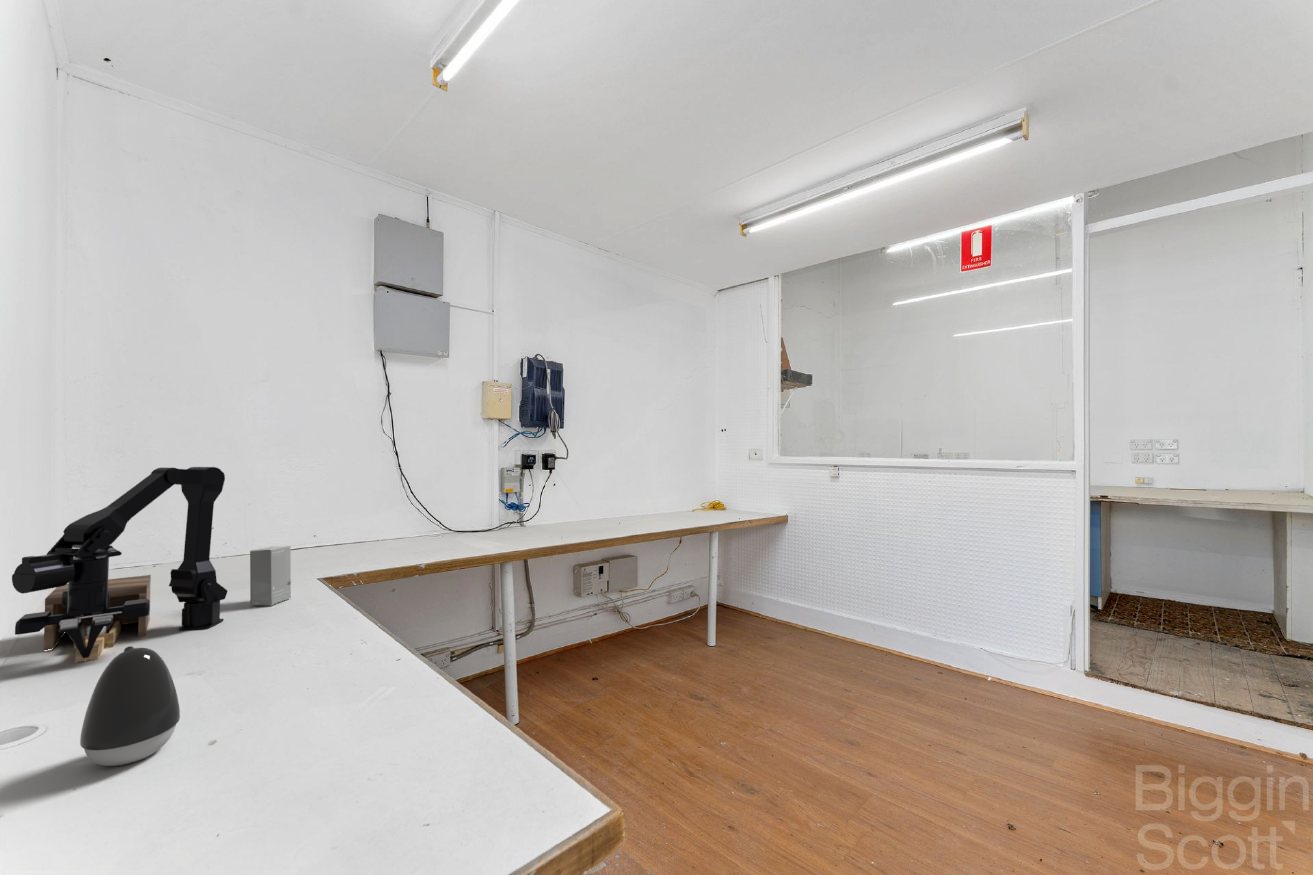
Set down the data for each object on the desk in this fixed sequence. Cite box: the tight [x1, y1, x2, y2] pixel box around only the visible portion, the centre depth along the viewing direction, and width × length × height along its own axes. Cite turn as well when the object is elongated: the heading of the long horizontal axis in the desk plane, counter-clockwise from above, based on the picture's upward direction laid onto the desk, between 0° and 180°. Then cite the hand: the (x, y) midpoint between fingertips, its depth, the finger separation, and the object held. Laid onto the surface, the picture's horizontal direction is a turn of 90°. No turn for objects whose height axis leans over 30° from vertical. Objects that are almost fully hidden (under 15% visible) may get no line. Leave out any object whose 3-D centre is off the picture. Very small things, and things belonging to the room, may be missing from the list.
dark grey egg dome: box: [79, 645, 181, 767], centre depth 77 cm, size 10×10×15 cm
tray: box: [73, 620, 121, 663], centre depth 119 cm, size 20×6×4 cm, turn 40°
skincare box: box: [249, 545, 292, 607], centre depth 154 cm, size 8×7×16 cm
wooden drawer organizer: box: [43, 574, 152, 651], centre depth 127 cm, size 16×16×12 cm
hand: (86, 657), depth 110 cm, fingers closed, pressing on tray
